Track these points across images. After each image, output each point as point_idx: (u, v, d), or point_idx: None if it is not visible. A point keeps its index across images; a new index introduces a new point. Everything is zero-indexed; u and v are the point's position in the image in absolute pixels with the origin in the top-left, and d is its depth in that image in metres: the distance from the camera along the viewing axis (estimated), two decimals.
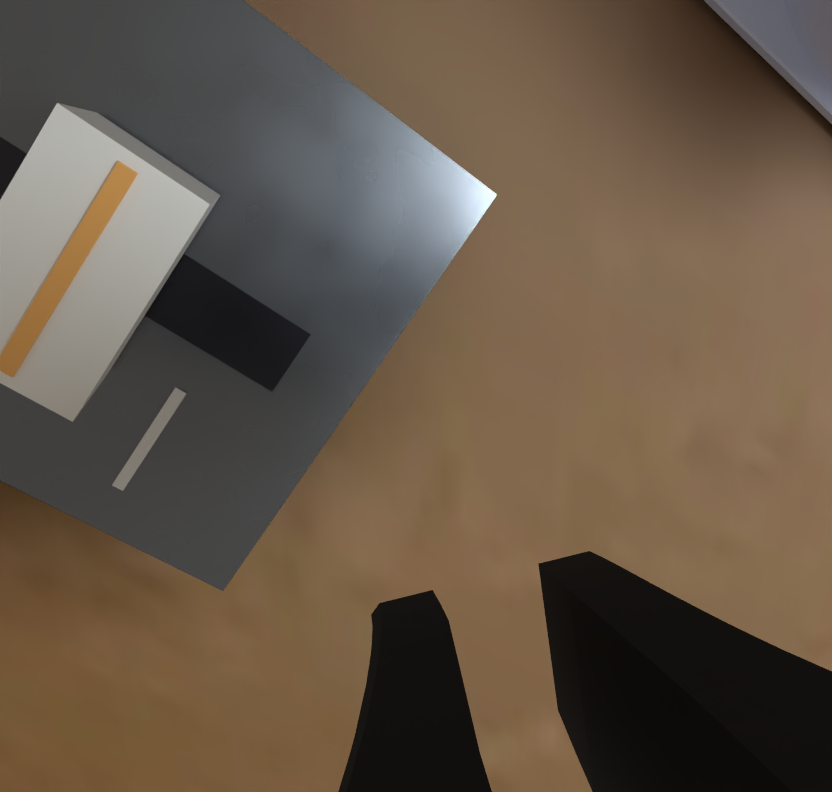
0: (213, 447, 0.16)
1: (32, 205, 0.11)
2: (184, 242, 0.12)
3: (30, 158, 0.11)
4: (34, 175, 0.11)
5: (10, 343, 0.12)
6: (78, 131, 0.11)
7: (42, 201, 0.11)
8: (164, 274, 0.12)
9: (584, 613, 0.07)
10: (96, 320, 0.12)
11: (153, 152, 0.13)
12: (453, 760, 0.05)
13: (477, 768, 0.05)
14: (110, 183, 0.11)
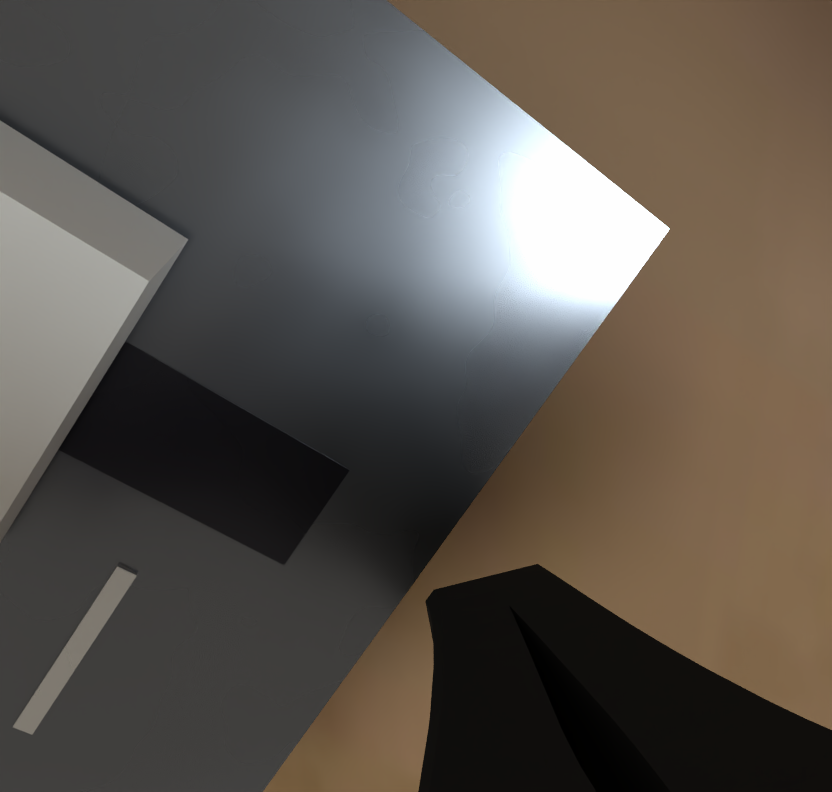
0: (185, 656, 0.09)
1: None
2: (93, 365, 0.05)
3: None
4: None
5: None
6: None
7: None
8: (52, 433, 0.05)
9: (523, 629, 0.07)
10: None
11: (55, 162, 0.07)
12: (536, 737, 0.06)
13: (562, 744, 0.05)
14: None
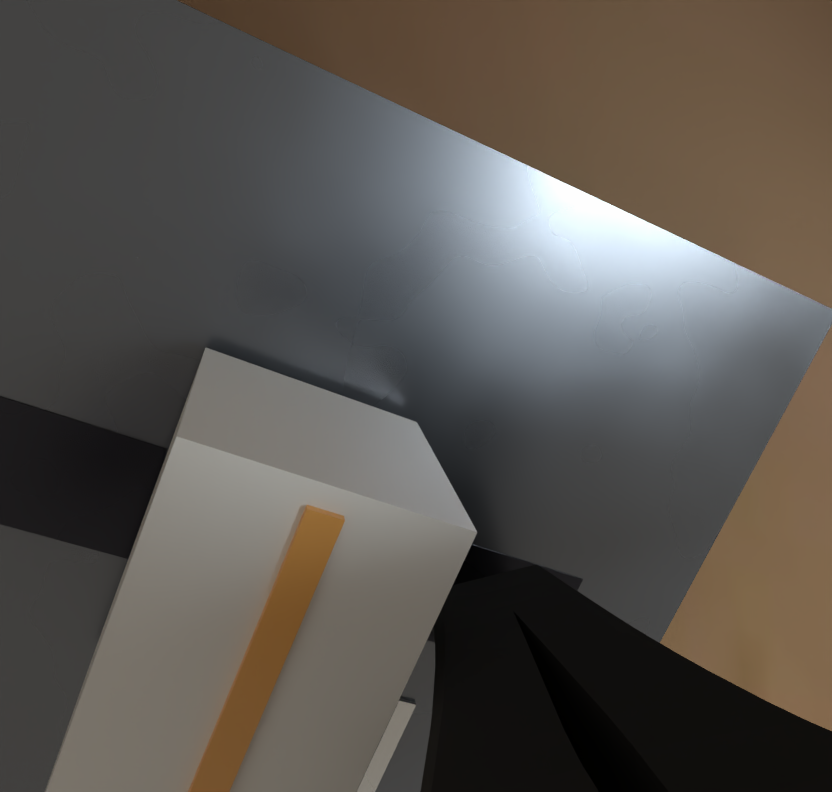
0: None
1: (165, 619, 0.06)
2: (441, 606, 0.06)
3: (147, 546, 0.06)
4: (158, 569, 0.06)
5: None
6: (224, 474, 0.06)
7: (182, 609, 0.06)
8: (413, 664, 0.06)
9: (521, 629, 0.07)
10: (310, 765, 0.07)
11: (310, 395, 0.08)
12: (538, 737, 0.06)
13: (564, 744, 0.05)
14: (299, 549, 0.06)
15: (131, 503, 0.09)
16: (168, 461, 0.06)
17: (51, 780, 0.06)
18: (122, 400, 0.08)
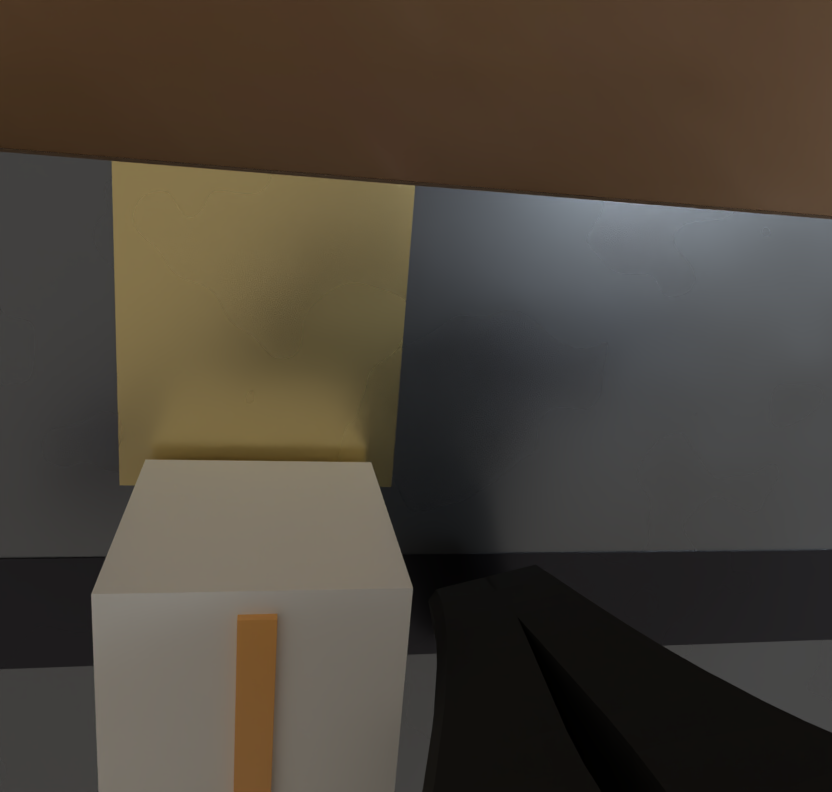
0: None
1: (148, 752, 0.06)
2: (404, 664, 0.06)
3: (103, 697, 0.06)
4: (124, 712, 0.06)
5: None
6: (149, 613, 0.06)
7: (159, 738, 0.06)
8: (398, 722, 0.07)
9: None
10: None
11: (254, 475, 0.08)
12: (540, 736, 0.06)
13: (566, 743, 0.05)
14: (245, 659, 0.06)
15: (712, 601, 0.10)
16: (93, 617, 0.06)
17: None
18: (695, 525, 0.10)
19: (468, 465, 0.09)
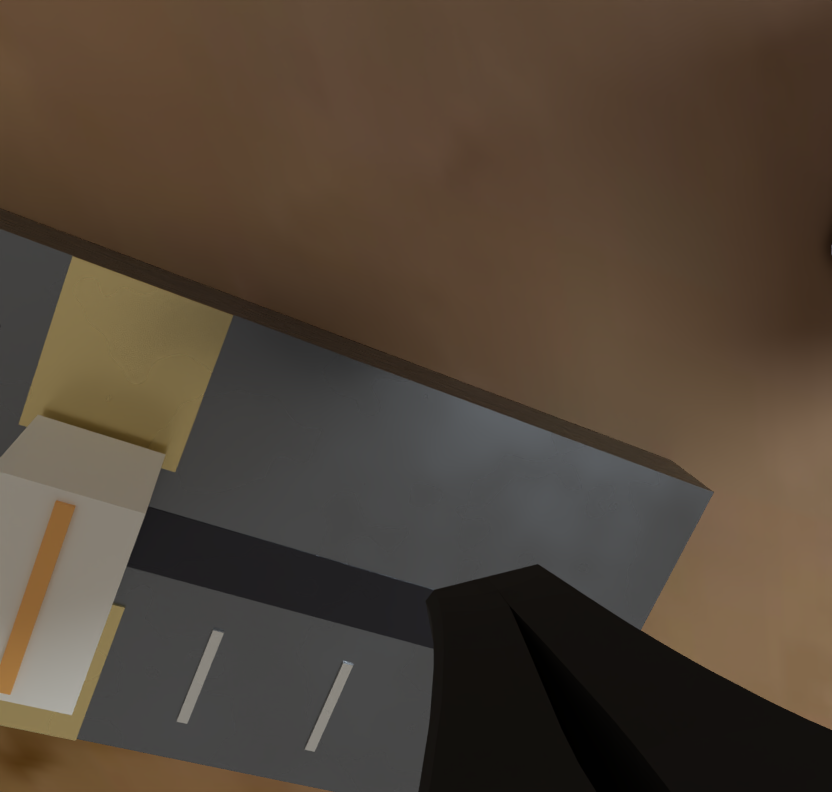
0: None
1: None
2: (131, 550, 0.13)
3: None
4: None
5: (0, 669, 0.13)
6: (14, 486, 0.12)
7: None
8: (120, 579, 0.13)
9: (523, 629, 0.07)
10: (71, 631, 0.13)
11: (94, 441, 0.15)
12: (537, 737, 0.06)
13: (562, 744, 0.05)
14: (53, 522, 0.12)
15: (351, 598, 0.17)
16: None
17: None
18: (351, 549, 0.17)
19: (224, 473, 0.16)
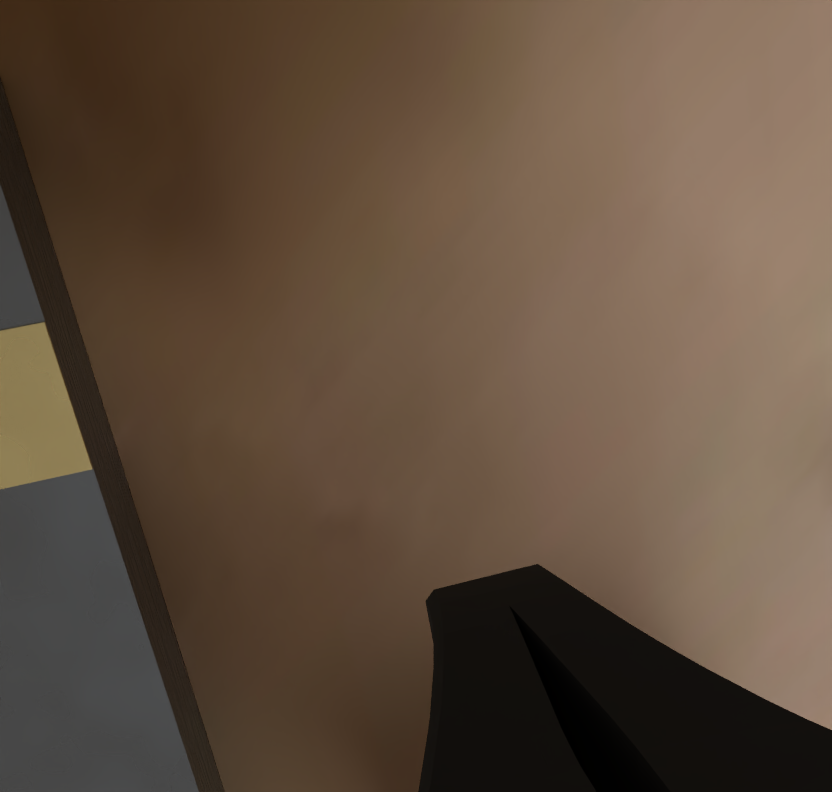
0: None
1: None
2: None
3: None
4: None
5: None
6: None
7: None
8: None
9: (522, 629, 0.07)
10: None
11: None
12: (536, 737, 0.06)
13: (562, 744, 0.05)
14: None
15: None
16: None
17: None
18: None
19: None
